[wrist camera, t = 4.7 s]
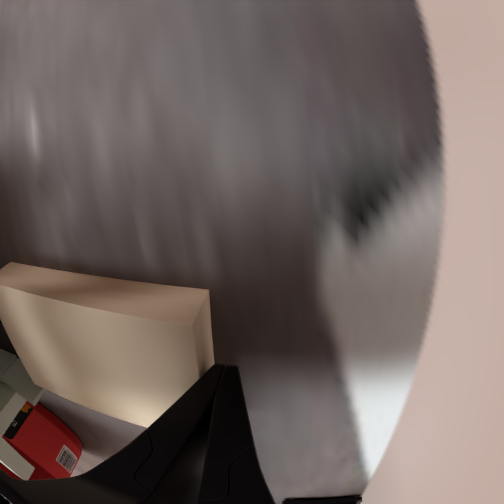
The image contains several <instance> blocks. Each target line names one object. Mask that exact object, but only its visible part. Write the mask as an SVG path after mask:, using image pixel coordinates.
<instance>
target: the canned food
mask: <svg viewBox="0 0 504 504" xmlns="http://www.w3.org/2000/svg"><path fill="white" fill-rule="evenodd" d="M2 438H3V439H4V440H5V441H6V442H7V443H8V444H9V445H10V446H11V447H12V448H13V449H14V450H15V451H16V452H18V453H19V454H20V455H21V456H22V457H23V458H24V459H25V460H26V461H27V462H28V463H30V464H31V465H32V466H33V467H34V468H35V469H34V471H33V473H32V474H31V476H30V478H29V480H44V479H57V478H68V477H70V476H71V474H72V472H73V470H74V468H75V466H76V464H77V462H78V460H79V458H80V456H81V452H82V443H81V441H80V440H79V438H78V437H77V436H76V435H75V433H74V432H73V431H72V430H71V429H70V428H69V427H68V426H67V425H66V424H64V423H63V422H62V421H61V420H60V419H59V418H58V417H56V416H55V415H54V414H53V413H52V412H50V411H49V410H48V409H46V408H45V407H44V406H42V405H41V404H40V403H38V402H37V404H36V405H35V406H33V405H32V404H31V403H30V402H28V401H26V403H25V404H24V405H23V407H22V408H21V409H20V411H19V412H18V414H17V415H16V417H15V418H14V419H13V421H12V422H11V424H10V425H9V427H8V428H7V430H6V431H5V433H4V434H3V436H2ZM0 469H2V470H3V471H4V472H5V473H6V474H8V475H9V476H11V477H12V478H15V479H19V480H23V479H22V478H20V477H19V476H18V475H16V474H15V473H14V472H12V471H11V470H10V469H9V468H7V467H6V466H5V465H4V464H2V463H1V462H0Z"/></svg>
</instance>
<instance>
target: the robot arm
mask: <svg viewBox="0 0 504 504" xmlns="http://www.w3.org/2000/svg"><path fill="white" fill-rule="evenodd" d="M361 502H362V497H350V498H339V499H324V500H284V501H282V504H360V503H361ZM0 504H276V503H275V501H274V499H273V497H272V494H271V492H270V490H269V488H268V485H267V483H266V481H265V478H264V475H263V473H262V470H261V467H260V463H259V460H258V456H257V452H256V447H255V444H254V439H253V435H252V430H251V426H250V421H249V416H248V412H247V407H246V402H245V398H244V393H243V388H242V383H241V378H240V373H239V368H238V366H233V365H221V364H214V365H212V366H211V367H210V368H209V369H208V370H207V371H206V372H205V373H204V374H203V375H202V376H201V377H200V378H199V379H198V380H197V381H196V382H195V383H194V384H193V385H192V386H191V387H190V388H189V389H188V390H187V391H186V392H185V393H184V394H183V395H182V396H181V397H180V398H179V399H178V400H177V401H176V402H175V403H174V404H172V405H171V406H170V407H169V408H168V409H167V410H166V411H165V412H164V413H163V414H162V415H161V416H160V417H159V418H158V419H157V420H155V421H154V422H153V423H152V424H151V425H150V426H149V427H148V429H145V430H144V431H143V432H142V433H141V434H140V435H139V436H138V437H137V438H135V439H134V440H133V441H132V442H131V443H129V444H128V445H127V446H125V447H124V448H123V449H121V450H120V451H119V452H117V453H116V454H114V455H113V456H111V457H110V458H108V459H107V460H105V461H104V462H102V463H101V464H99V465H98V466H96V467H95V468H93V469H91V470H90V471H88V472H86V473H84V474H81V475H78V476H75V477H68V478H57V479H44V480H19V479H15V478H12V477H11V476H9V475H8V474H6V473H5V472H4V471H3V470H2V469H0Z"/></svg>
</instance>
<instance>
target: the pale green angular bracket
mask: <svg viewBox="0 0 504 504" xmlns="http://www.w3.org/2000/svg"><path fill="white" fill-rule="evenodd" d="M45 391H46V389H44V388H42V387H40V386H38V385H36V384H34V382H33V381H32V379H31V377H30V376H29V374H28V372H27V370H26V369H25V367H24V365H23V363H22V362H21V360H20V359H19V358H17V357H16V355H14V354H12V353H9V352H7V351H5V350H3V349H0V462H1V463H2V464H4V465H5V466H6V467H7V468H9V469H10V470H11V471H12V472H14V473H15V474H16V475H18V476H19V477H20V478H22V479H23V480H29V478H30V476H31V474H32V473H33V471H34V469H35V468H34V467H33V466H32V465H31V464H30V463H28V462H27V461H26V460H25V459H24V458H23V457H22V456H21V455H20V454H19V453H18V452H16V451H15V450H14V449H13V448H12V447H11V446H10V445H9V444H8V443H7V442H6V441H5V440H4V439H3V438H2V436H3V434H4V433H5V431H6V430H7V428H8V427H9V425H10V424H11V422H12V421H13V419H14V418H15V417H16V415H17V414H18V412H19V411H20V409H21V408H22V407H23V405H24V404H25V403H26V401H28V402H30V403H31V404H32V405H33V406H35V405H36V404H37V402H38V401H39V400H40V398H41V397H42V395H43V394H44V393H45Z"/></svg>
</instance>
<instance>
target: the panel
mask: <svg viewBox="0 0 504 504" xmlns="http://www.w3.org/2000/svg"><path fill="white" fill-rule="evenodd" d="M0 319H1V321H2V324H3V326H4V328H5V330H6V332H7V334H8V337H9V339H10V341H11V343H12V345H13V347H14V349H15V350H16V352H17V354H18V356H19V358H20V360H21V362H22V363H23V365H24V367H25V369H26V370H27V372H28V374H29V376H30V377H31V379H32V381H33V382H34V384H36V385H38V386H40V387H42V388H44V389H46V390H48V391H50V392H52V393H54V394H57V395H59V396H61V397H63V398H66V399H68V400H70V401H73V402H75V403H77V404H80V405H82V406H85V407H87V408H90V409H93V410H95V411H98V412H101V413H103V414H106V415H109V416H112V417H115V418H118V419H121V420H124V421H127V422H130V423H134V424H137V425H140V426H144V427H147V428H148V427H149V426H150V425H151V424H152V423H153V422H154V421H155V420H157V419H158V418H159V417H160V416H161V415H162V414H163V413H164V412H165V411H166V410H167V409H168V408H169V407H170V406H171V405H172V404H174V403H175V402H176V401H177V400H178V399H179V398H180V397H181V396H182V395H183V394H184V393H185V392H186V391H187V390H188V389H189V388H190V387H191V386H192V385H193V384H194V383H195V382H196V381H197V380H198V379H199V378H200V377H201V376H202V375H203V374H204V373H205V372H206V371H207V370H208V369H209V368H210V367H211V366H212V365H214V353H213V341H212V327H211V313H210V298H209V290H208V289H198V288H188V287H179V286H170V285H162V284H153V283H145V282H137V281H129V280H122V279H114V278H107V277H100V276H93V275H86V274H80V273H73V272H67V271H60V270H54V269H48V268H42V267H36V266H30V265H25V264H19V263H14V262H10V263H8V264H7V265H5V266H4V267H3V268H1V269H0Z"/></svg>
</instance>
